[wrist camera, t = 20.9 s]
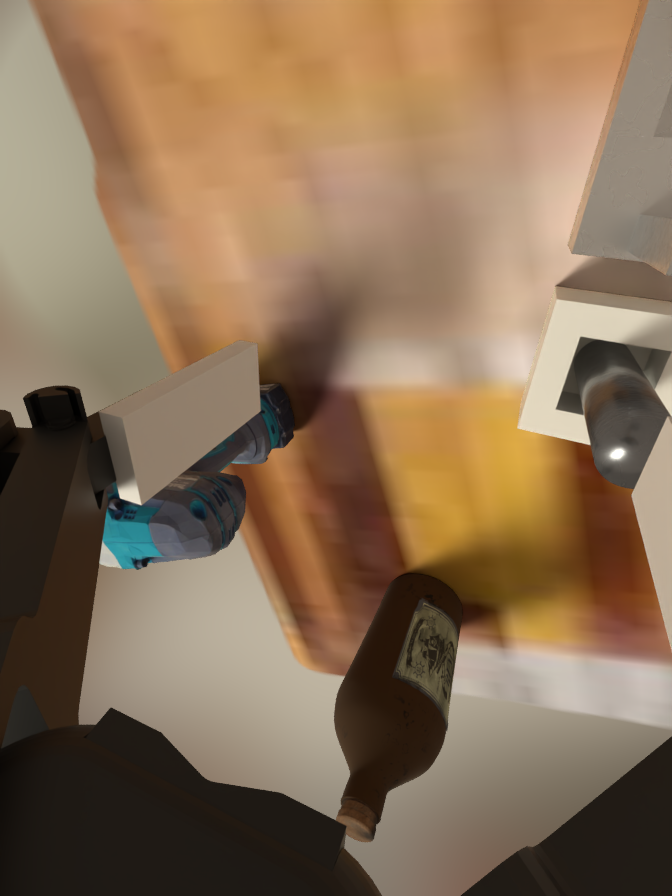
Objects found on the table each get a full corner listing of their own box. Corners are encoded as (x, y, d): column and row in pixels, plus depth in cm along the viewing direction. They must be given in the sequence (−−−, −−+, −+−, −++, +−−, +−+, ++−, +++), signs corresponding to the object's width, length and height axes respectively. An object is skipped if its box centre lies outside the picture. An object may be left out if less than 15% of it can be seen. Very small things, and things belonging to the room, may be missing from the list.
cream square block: (555, 286, 37) (556, 299, 32) (700, 305, 34) (727, 323, 29) (520, 401, 42) (517, 428, 37) (645, 427, 39) (659, 460, 34)
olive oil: (421, 645, 60) (356, 874, 40) (365, 588, 59) (270, 792, 39) (487, 619, 54) (451, 874, 34) (426, 555, 53) (351, 776, 33)
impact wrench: (167, 388, 57) (-46, 492, 37) (331, 369, 47) (167, 497, 27) (188, 445, 60) (2, 572, 40) (346, 439, 50) (209, 601, 30)
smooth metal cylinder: (583, 334, 36) (609, 409, 23) (640, 342, 35) (703, 427, 22) (567, 382, 38) (582, 477, 25) (620, 392, 37) (667, 497, 24)
